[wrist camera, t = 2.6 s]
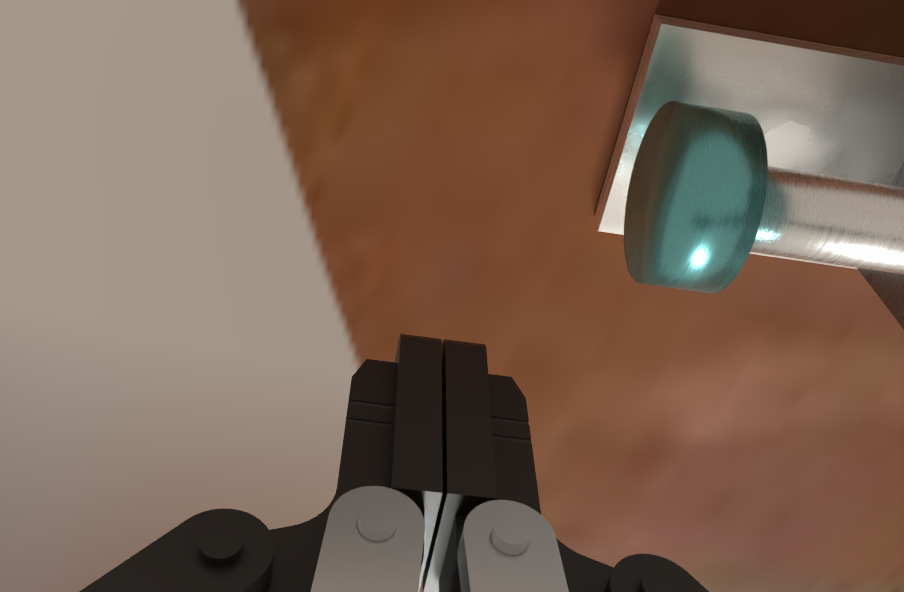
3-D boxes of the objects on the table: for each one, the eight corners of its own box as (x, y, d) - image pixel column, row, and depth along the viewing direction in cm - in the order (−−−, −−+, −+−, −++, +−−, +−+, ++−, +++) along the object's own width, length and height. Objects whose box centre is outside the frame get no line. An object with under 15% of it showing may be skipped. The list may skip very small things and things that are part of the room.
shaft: (1096, 147, 25) (1226, 229, 21) (1007, 285, 28) (1106, 382, 24) (662, 74, 24) (707, 147, 20) (613, 227, 27) (645, 319, 22)
